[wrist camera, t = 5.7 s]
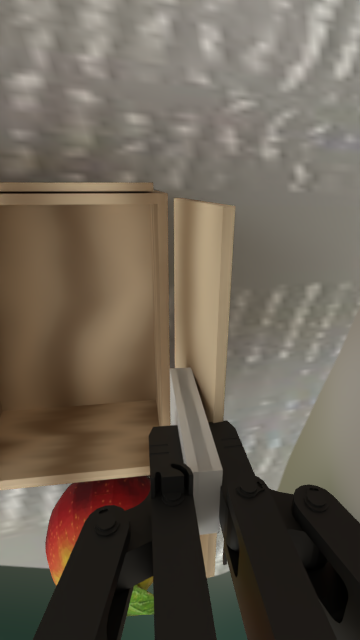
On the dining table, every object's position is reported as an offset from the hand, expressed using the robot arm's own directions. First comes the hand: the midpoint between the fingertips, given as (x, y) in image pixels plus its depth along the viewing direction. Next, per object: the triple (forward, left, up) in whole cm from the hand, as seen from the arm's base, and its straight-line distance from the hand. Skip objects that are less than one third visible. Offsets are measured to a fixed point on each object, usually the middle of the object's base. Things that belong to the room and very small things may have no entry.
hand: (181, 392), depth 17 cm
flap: (0, 0, 0) cm, 1 cm away
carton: (-7, 0, -12) cm, 14 cm away
